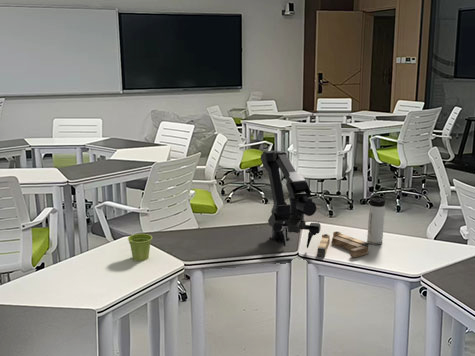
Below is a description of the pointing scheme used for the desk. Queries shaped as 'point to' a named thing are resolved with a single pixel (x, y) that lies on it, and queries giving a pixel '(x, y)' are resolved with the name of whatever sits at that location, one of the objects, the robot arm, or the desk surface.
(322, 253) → the hinged leg
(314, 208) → the robot arm
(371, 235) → the travel mug
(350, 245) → the tan rectangular beam
